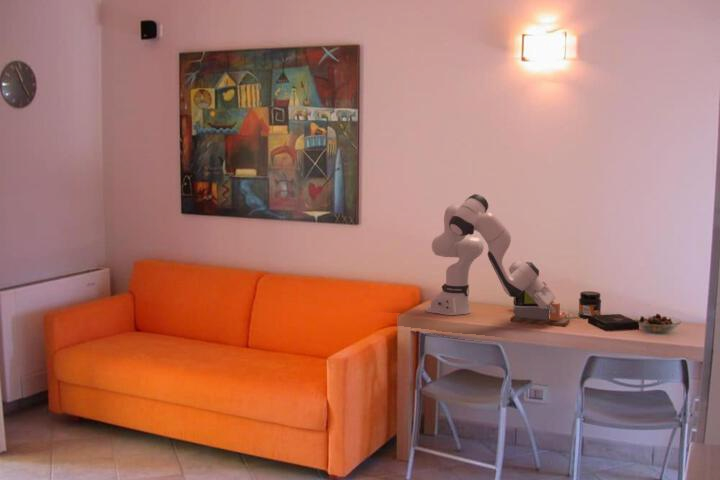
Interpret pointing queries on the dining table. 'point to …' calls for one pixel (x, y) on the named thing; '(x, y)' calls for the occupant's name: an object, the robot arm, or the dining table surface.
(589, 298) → the supplement container
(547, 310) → the grey long bar
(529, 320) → the brown flat board
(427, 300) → the dining table surface
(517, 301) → the tea box
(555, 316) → the stub
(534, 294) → the robot arm
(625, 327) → the portable cd player
